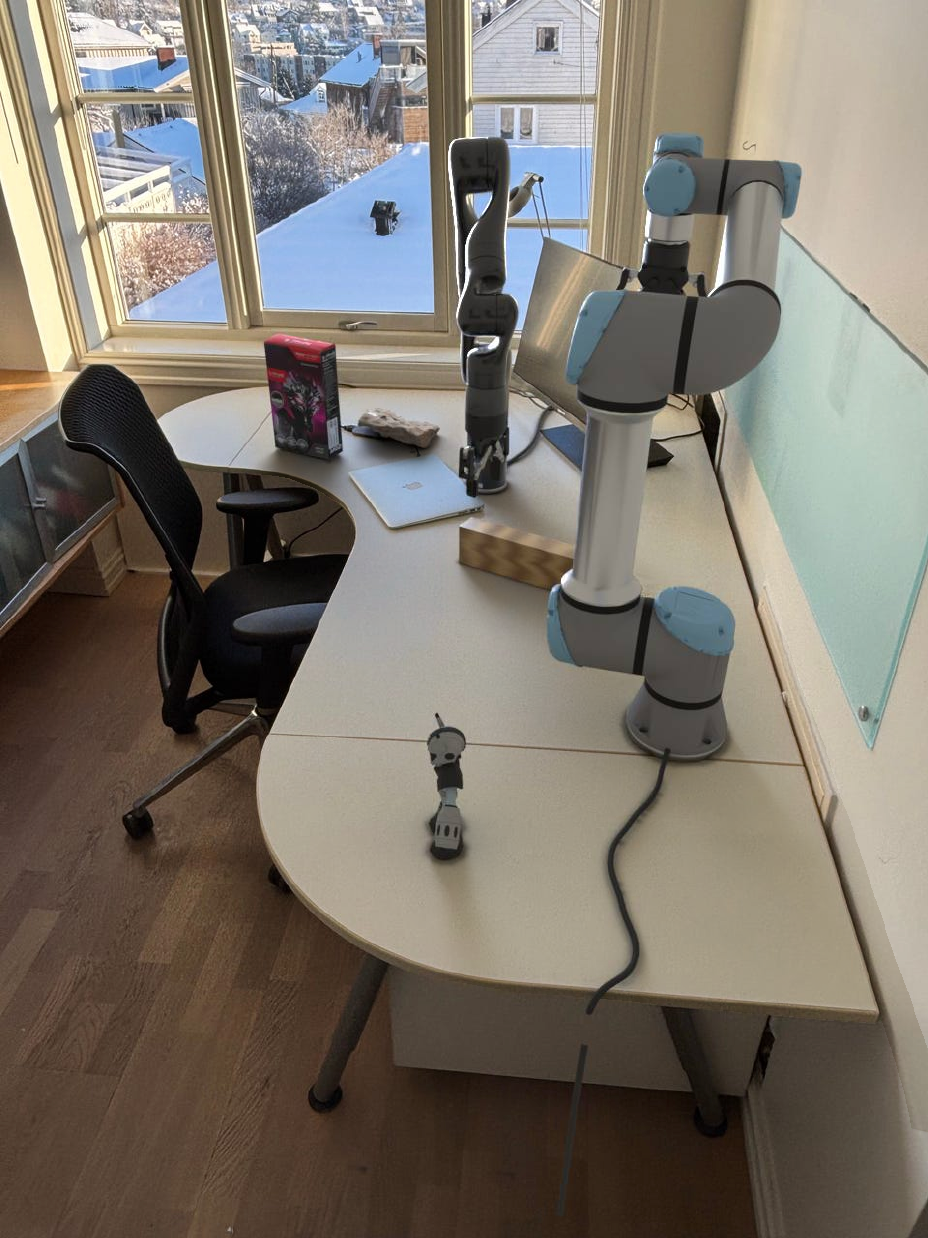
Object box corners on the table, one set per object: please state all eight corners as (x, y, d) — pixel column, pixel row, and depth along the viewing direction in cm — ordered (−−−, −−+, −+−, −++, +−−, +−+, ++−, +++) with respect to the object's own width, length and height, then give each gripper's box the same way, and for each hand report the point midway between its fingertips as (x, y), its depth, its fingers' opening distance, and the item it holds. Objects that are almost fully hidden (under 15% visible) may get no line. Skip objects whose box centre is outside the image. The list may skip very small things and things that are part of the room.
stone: (342, 431, 232) (346, 408, 230) (364, 423, 246) (368, 401, 243) (419, 455, 229) (424, 432, 226) (437, 445, 242) (442, 423, 240)
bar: (582, 585, 179) (586, 548, 174) (572, 596, 175) (575, 559, 171) (470, 552, 189) (471, 516, 184) (459, 562, 185) (459, 526, 181)
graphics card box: (273, 448, 231) (260, 339, 216) (289, 438, 236) (278, 332, 221) (329, 461, 225) (320, 351, 210) (345, 451, 230) (337, 342, 215)
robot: (468, 894, 116) (470, 778, 105) (429, 895, 116) (427, 779, 105) (461, 784, 133) (462, 674, 121) (427, 785, 132) (425, 675, 121)
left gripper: (488, 390, 174) (486, 469, 183) (446, 414, 164) (447, 497, 173) (523, 399, 170) (519, 479, 180) (482, 423, 160) (481, 507, 170)
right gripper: (746, 239, 151) (725, 366, 163) (595, 230, 157) (585, 353, 169) (745, 249, 145) (723, 380, 157) (588, 239, 151) (578, 366, 163)
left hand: (484, 487), depth 176 cm, fingers open, 8 cm apart
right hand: (651, 367), depth 163 cm, fingers open, 13 cm apart
